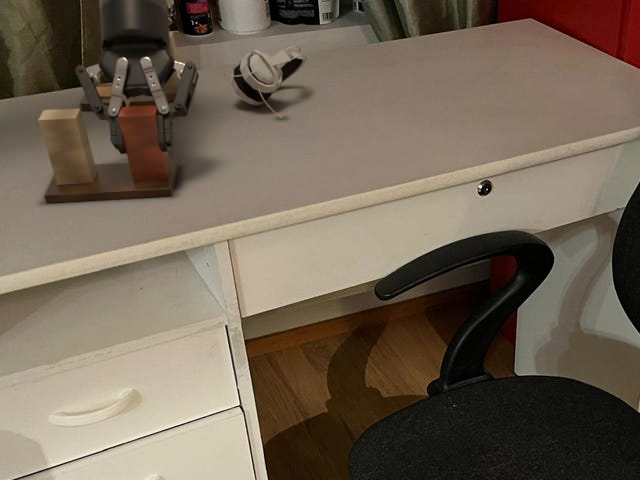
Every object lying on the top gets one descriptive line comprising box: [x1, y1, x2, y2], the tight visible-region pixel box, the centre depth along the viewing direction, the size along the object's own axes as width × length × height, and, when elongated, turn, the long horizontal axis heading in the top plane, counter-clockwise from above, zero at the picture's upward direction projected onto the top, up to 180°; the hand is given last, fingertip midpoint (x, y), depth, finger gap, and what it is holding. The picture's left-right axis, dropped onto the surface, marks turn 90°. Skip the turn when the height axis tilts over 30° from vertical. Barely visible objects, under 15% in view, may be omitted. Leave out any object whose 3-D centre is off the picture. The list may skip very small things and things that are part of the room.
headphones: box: [223, 45, 307, 119], centre depth 122 cm, size 8×10×20 cm
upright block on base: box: [80, 30, 180, 111], centre depth 124 cm, size 14×8×9 cm, turn 100°
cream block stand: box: [37, 108, 179, 204], centre depth 101 cm, size 14×8×9 cm, turn 100°
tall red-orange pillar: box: [118, 105, 171, 181], centre depth 102 cm, size 4×3×8 cm
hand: (143, 149), depth 100 cm, fingers closed on tall red-orange pillar, 4 cm apart
